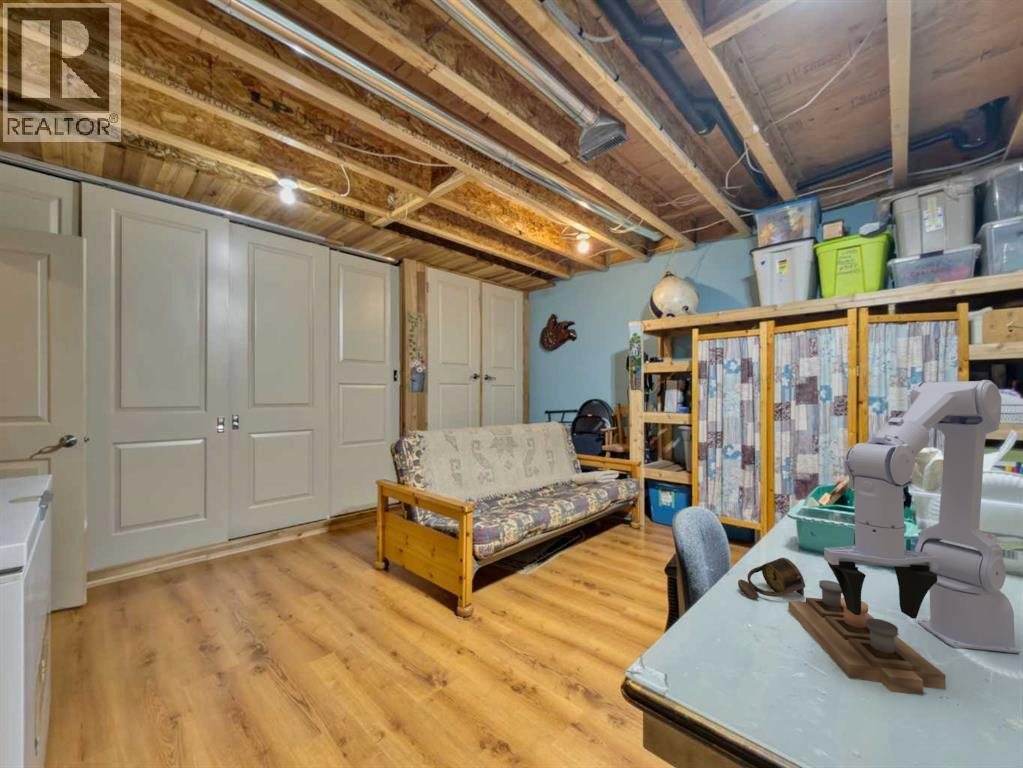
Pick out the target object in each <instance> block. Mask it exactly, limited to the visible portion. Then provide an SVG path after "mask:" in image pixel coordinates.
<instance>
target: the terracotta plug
mask: <svg viewBox="0 0 1023 768" xmlns="http://www.w3.org/2000/svg"><path fill="white" fill-rule="evenodd" d="M841 606H842V607H844V622H845V623H847V624H848V625H851V626H854V627H858V628H864V627H865V613H869V604H867V602H865V601H862V600H861V613H860V615H855V614H853V613H852V612H851V611H849V610H848V609H847V608H846V603H845V600H844V597H841Z"/></svg>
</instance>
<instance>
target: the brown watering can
mask: <svg viewBox="0 0 1023 768" xmlns="http://www.w3.org/2000/svg"><path fill="white" fill-rule="evenodd" d="M758 572H759V573H760V572H761V574H762V576H763V579H764V580H765V583H766V584H767V586H768V587H769V589H771V591H768V590H764V589H762V588H760V587H758V586H756V584H754V583H753V581H752V580H751V578H752V576H753V575H754V574H756V573H758ZM737 586H738V588H739V590H740V592H741V593H742V594H743V595H745V596H746V597H748V598H750V599H753V600H756V599H758V598H760V596H759V595H760V594H761V595H763V596H767V597H773V598H777V597H778V598H779V597H784V596H787V595H789V594H791V593H794V592H796V593H797V594H798V595H800V596H801V597H804V596H805V590H804V589H805V588H806V583H805V579H804V576H803V575H802V573H801V571H800V570H799V568H798V566H797V565H796V564H795V563H794V562H792V561H791V560H790V559H789V558H786V557H780V558H779V557H778V558H777V559H774V560H772V561H770V562H767V563H763V564H762V565H760V566H756V567H754V568H753V569H750V570H749V572H748V574H747V581H746V580H745V579H744V580H743V579H738V580H737Z"/></svg>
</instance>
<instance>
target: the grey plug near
mask: <svg viewBox="0 0 1023 768" xmlns="http://www.w3.org/2000/svg"><path fill="white" fill-rule="evenodd" d="M866 626H867V628H868V629H869V630H870V645H871V646H872V647H873V648H875V649H877V650H879V651H882V652H886V653H894V652H895V640H894V637H895V636H897V637H898V636H899V629H898V626H896V625H895V624H894V623H892V622H889V621H887V620H884V619H879V618H874V617H873V618H869V619H867V620H866Z"/></svg>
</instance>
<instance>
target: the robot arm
mask: <svg viewBox="0 0 1023 768" xmlns="http://www.w3.org/2000/svg"><path fill="white" fill-rule="evenodd" d="M1001 416H1002V396H1001V393H1000V390H999V387H998V386H997V385H996V383H994V382H993V381H992V380H989V379H982V380H975V381H974V380H971V381H969V380H968V381H967V380H963V381H931V382H928V381H918V382H917V383H916V384H915V385H914V386H913V387H912V389H911V391H910V405H909V407H908V409H906V411H905V412H904V414H903V416H902V417H891V418H889V419H888V420H887V421H886V422H885V423H884V424H883V425H882V426H881V427H880V428H878V430H877V431H876V432H875V433H874V434H873V435H872V436H871V437H870V438H869V439H868V440H867V441H866V442H858V443H856V444H854V445H852V446H850V447H849V448H848V449H847V451H846V454H845V459H844V460H843V463H844V464H843V465H844V469H845V472H846V474H847V476H848V481H849V482H848V484H849V487H850V489H851V490H853V498H854V499H853V501H854V502H853V503H854V505H853V506H854V507H853V508H854V509H853V510H854V545H849V546H839V547H838V546H837V547H824V548H823V551H824V552H823V553H824V554H823V556H824V557H823V558H824V561H826V562H827V565H828V566H829V568H830V569H831V572H832V573H833V576H834V577H835V578H836V580H837V583H839V585H840V588H841V590H842V593H841V594H842V595H843V596H842V597H843V598H844V600H845V603H846V608H847V609H848V610H849V611H851V612H852V613H853V614H855V615H860V613H861V601H862V590H863V587H864V586H863V585H864V583H865V578H866V576H867V575H866V574H865V572H862V571H860V570H859V567H858V566H857V565H860V566H861V565H862V566H863V565H864V566H865V565H867V566H885V567H893V569H894V571H895V576H896V579H897V584H898V594H899V595H898V596H899V598H898V599H899V607H900V609H899V610H900V612H901V613H903V614H904V615H906V616H908V617H909V618H910V619H915V620H916V623H917V624H919V625H920V626H921V627H923V628H924V629H926V630H928V631H929V632H930V633H932V634H933V635H935V636H936V637H938V638H939V639H940V640H942V641H943V642H945V643H946V644H947V645H949V646H952V647H953V648H962V649H964V648H965V649H972V650H973V649H974V650H984V651H993V652H994V651H995V652H1005V653H1015V654H1019V653H1020V651H1021V650H1020V649H1018V648H1017V647H1016V646H1015V644H1016V643H1015V640H1016V639H1015V615H1014V612H1015V611H1014V609H1013V606H1012V605H1013V604H1012V603H1011V601H1010V599H1009V598H1008V597H1007V595H1006V594H1005V593H1004V592H1002V591H1001V590H1002V588H1003V586H1004V585H1005V581H1006V577H1007V576H1006V572H1007V571H1006V566H1005V562H1004V551H1003V548H1002V546H1000V545H999V543H997V542H996V541H995V540H993V539H992V538H990V537H989V536H988V535H986V534H985V533H984V532H982V531H981V530H980V523H981V508H982V507H981V506H982V505H981V503H982V489H983V477H984V474H983V473H984V458H985V457H984V456H985V446H986V445H985V444H986V440H987V439H986V438H987V434H991V433H993V432H997V431H998V430H999V429H1000V423H1001ZM930 429H934V430H938V431H940V432H941V433H942V434H943V436H944V446H943V447H944V448H943V461H942V472H941V474H942V475H941V486H940V501H939V512H938V513H939V514H938V515H939V516H938V522H937V523H936V524H933V525H930V526H928V527H925V528H923V529H921V530H920V533H919V535H918V536H919V537H918V541H917V543H916V545H915V547H914V550H906V549H905V548H906V545H905V512H904V511H905V507H904V506H905V505H904V502H905V501H904V485H906V484H907V483H909V481H910V479H911V477H912V474H913V469H914V467H915V466H916V464H915V463H916V458H917V456H918V455H919V453H921V451H922V450H923V449H924V448H925V447H926V446H927V445H928V444H929V442H930V432H929V430H930ZM944 541H946V542H944ZM949 542H952V543H949ZM953 543H955V544H953ZM956 544H957V545H956ZM958 544H960V545H958ZM961 545H964V546H961ZM966 546H968V547H966ZM969 547H972V548H969ZM973 548H974V549H973ZM928 592H929V612H930V613H929V620H928V619H917V618H918V615H919V611H920V608H921V606H922V604H923V601H924V599H925V597H926V595H927V593H928Z"/></svg>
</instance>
